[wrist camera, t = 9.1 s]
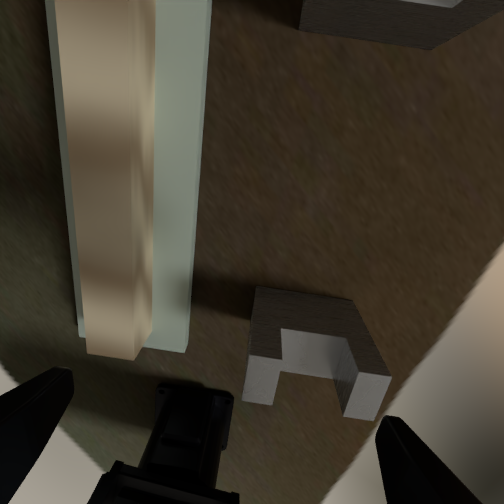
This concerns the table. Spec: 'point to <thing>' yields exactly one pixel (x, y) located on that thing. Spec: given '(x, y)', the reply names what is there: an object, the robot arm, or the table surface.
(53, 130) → the table surface
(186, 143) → the sage board
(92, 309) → the birch rail
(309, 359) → the steel stands
